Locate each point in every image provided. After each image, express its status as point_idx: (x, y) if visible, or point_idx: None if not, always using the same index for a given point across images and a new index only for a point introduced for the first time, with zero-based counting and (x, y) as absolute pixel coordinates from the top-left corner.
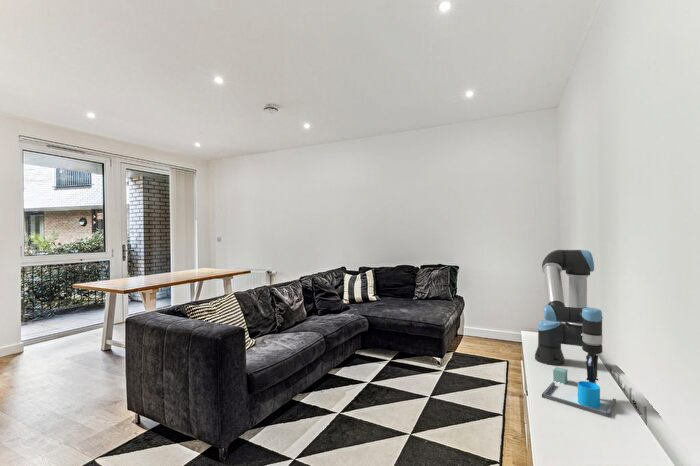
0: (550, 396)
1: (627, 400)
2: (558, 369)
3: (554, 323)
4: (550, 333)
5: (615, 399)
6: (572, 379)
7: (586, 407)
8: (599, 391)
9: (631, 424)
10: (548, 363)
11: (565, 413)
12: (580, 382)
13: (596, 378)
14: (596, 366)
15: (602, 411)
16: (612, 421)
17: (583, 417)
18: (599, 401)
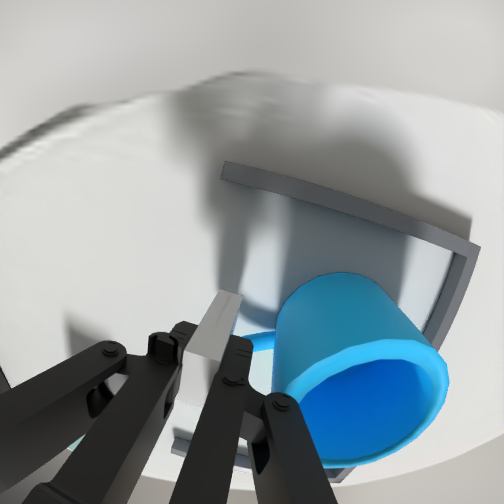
0: (355, 466)
1: (157, 98)
2: None
3: None
4: None
5: (234, 164)
6: (53, 350)
7: (438, 350)
8: (409, 327)
9: (486, 148)
10: (8, 389)
11: (458, 401)
12: (322, 458)
13: (162, 358)
14: (29, 421)
15: (464, 277)
16: (492, 233)
17: (482, 347)
18: (377, 291)
